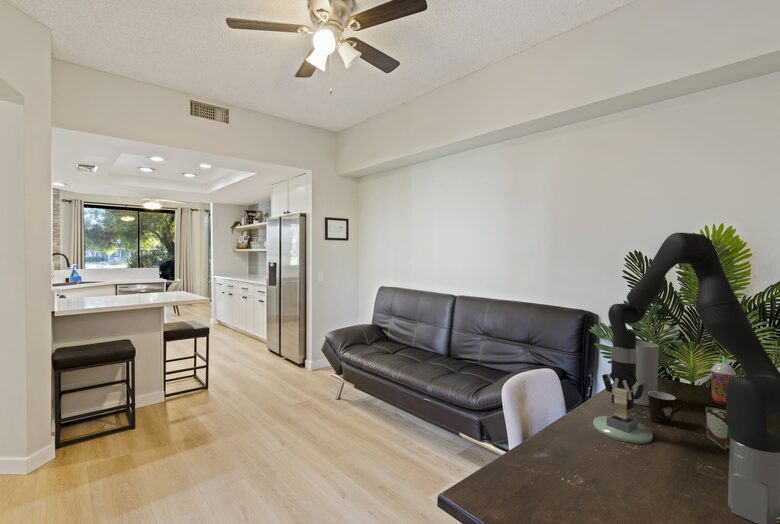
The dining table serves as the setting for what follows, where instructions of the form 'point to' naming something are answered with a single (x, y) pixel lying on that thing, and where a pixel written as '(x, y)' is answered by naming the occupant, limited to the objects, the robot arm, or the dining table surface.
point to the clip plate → (623, 429)
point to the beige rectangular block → (621, 403)
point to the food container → (718, 427)
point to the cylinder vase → (646, 369)
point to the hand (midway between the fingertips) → (622, 406)
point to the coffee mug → (662, 407)
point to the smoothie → (721, 381)
